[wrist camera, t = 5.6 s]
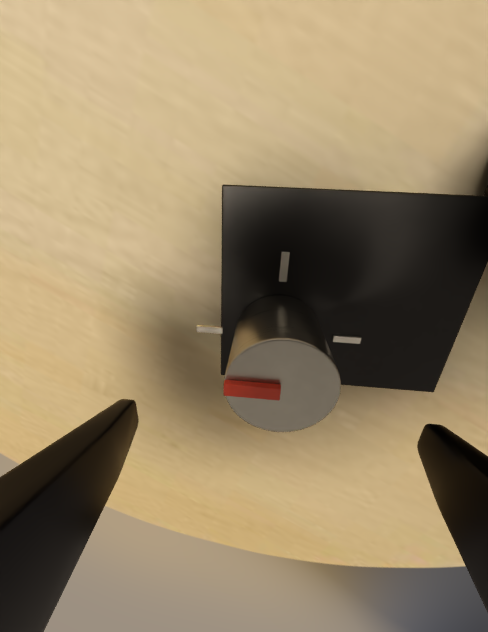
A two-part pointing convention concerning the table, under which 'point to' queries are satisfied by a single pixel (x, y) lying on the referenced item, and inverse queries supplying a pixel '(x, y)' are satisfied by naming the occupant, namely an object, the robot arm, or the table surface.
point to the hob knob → (280, 367)
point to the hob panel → (358, 272)
